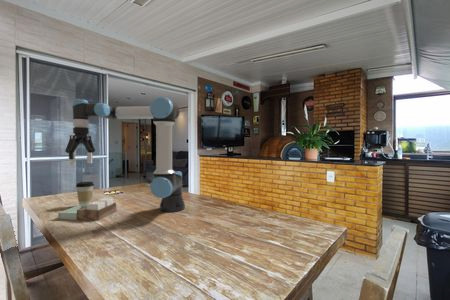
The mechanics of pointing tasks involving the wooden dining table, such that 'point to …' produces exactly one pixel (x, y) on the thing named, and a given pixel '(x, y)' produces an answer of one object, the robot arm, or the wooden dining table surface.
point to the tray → (70, 213)
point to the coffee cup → (84, 192)
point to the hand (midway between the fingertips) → (81, 164)
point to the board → (95, 213)
